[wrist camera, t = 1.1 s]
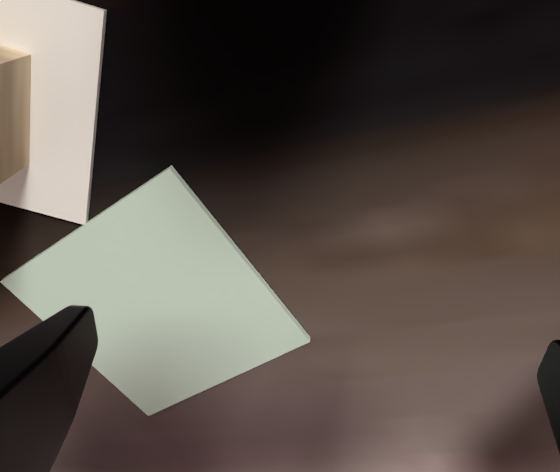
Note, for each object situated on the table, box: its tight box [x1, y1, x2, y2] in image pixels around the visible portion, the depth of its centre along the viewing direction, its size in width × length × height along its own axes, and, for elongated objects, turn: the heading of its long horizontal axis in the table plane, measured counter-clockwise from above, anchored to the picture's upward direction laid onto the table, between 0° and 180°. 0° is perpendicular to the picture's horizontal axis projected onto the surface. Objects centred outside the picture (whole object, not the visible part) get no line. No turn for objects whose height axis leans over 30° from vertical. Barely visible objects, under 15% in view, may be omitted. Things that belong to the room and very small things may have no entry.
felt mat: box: [0, 165, 310, 416], centre depth 26 cm, size 12×12×1 cm
